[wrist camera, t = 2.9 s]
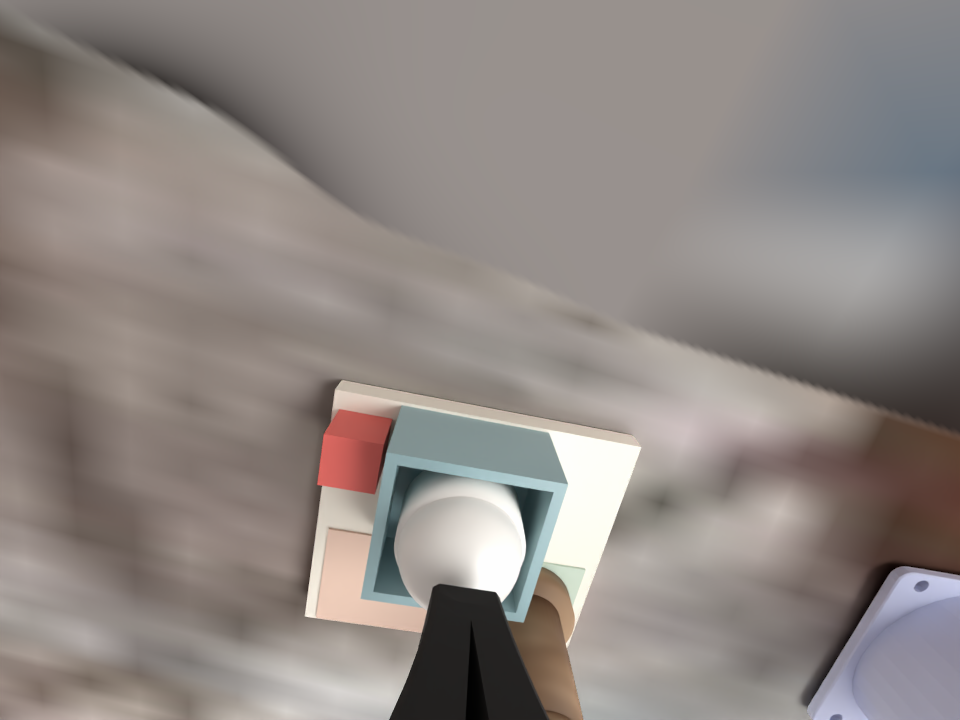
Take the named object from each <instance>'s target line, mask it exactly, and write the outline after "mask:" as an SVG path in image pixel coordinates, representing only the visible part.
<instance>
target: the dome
mask: <svg viewBox="0 0 960 720" xmlns="http://www.w3.org/2000/svg"><path fill="white" fill-rule="evenodd" d="M525 553H526V541H525V534H524V529H523V523H522V518H521V512H520V507H519V501H518V497H517V494H516V491H515V489H514V487H513V486H512V485H508V484H502V483H496V482H491V481H485V480H479V479H474V478H468V477H462V476H456V475H451V474H445V473H439V472H433V471H428V470H424V471H422V472H421V473H420V474H419V475H418V476H416V477H415V479H414V480H413V481H412V482H411V484H410V485H409V487H408V488H407V490H406V493H405V495H404V499H403V503H402V507H401V512H400V517H399V522H398V526H397V531H396V536H395V542H394V554H395V559H396V562H397V565H398V567H399V571H400V575H401V578H402V581H403V583H404V585H405V587H406V589H407V590H408V592H409V594H410V595H411V596H412V598H413V599H414V600H415V601H416V602H417V603H418V604H419V605H420V606H421V607H422V608H424V609H425V610H427V609H428V605H429V601H430V597H431V592H432V588H433V587H434V586H436V585H437V584H446V585H452V586H459V587H466V588H473V589H479V590H486V591H493V592H496V593H497V594H498V596H499V597H500V600H501V603H502V602H503V600H504V599H505V598H506V597H507V596H508V594H509V593H510V592H511V590H512V588H513V587H514V585H515V583H516V581H517V578H518V575H519V572H520V568H521V566H522V563H523V561H524V557H525Z"/></svg>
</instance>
